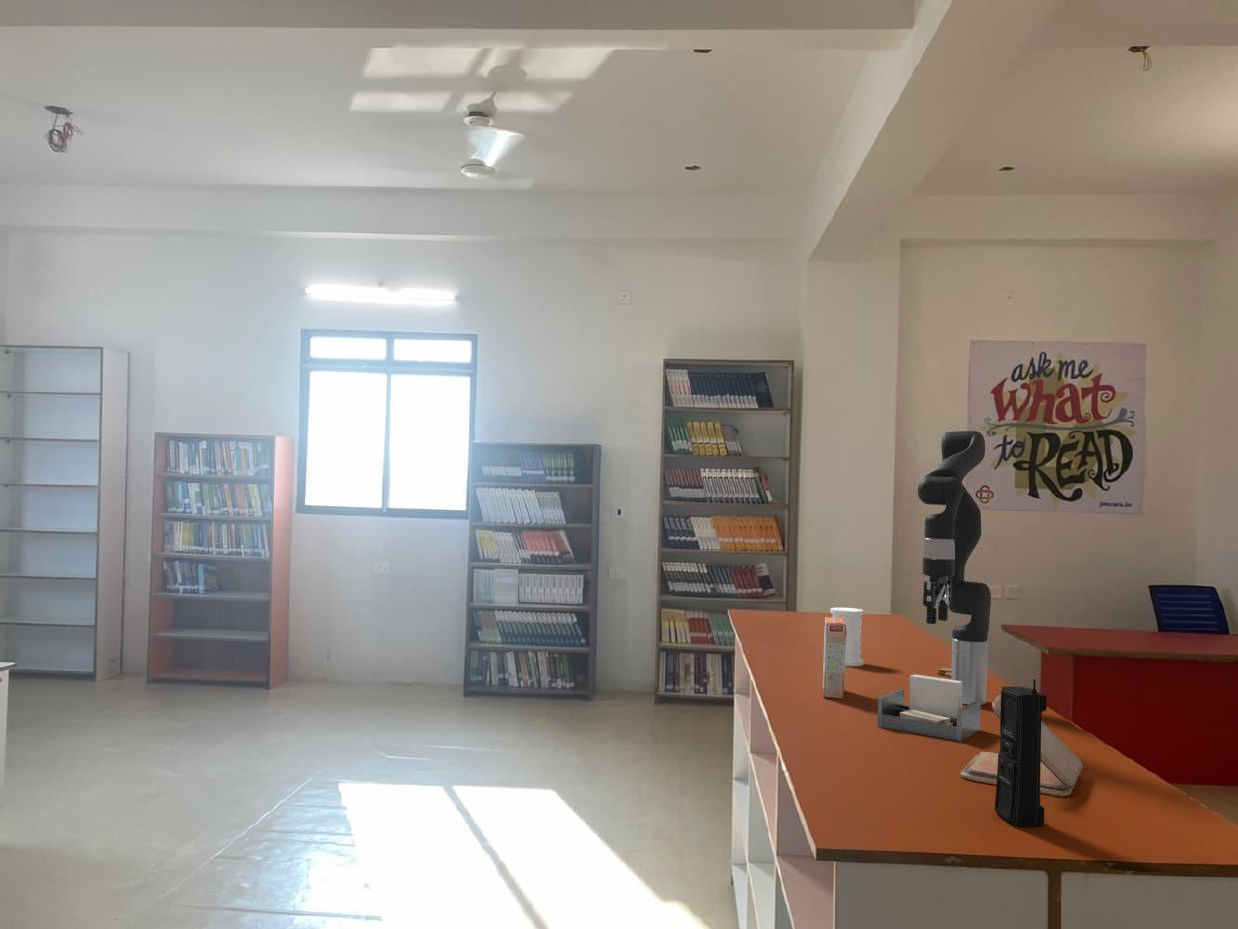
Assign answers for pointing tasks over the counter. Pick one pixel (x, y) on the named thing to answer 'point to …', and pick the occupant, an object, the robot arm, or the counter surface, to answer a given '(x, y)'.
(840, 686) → the cracker box
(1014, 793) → the portable radio
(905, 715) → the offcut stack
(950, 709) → the tall board
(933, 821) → the counter surface
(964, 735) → the rack
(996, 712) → the case
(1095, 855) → the counter surface
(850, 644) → the decorative container
